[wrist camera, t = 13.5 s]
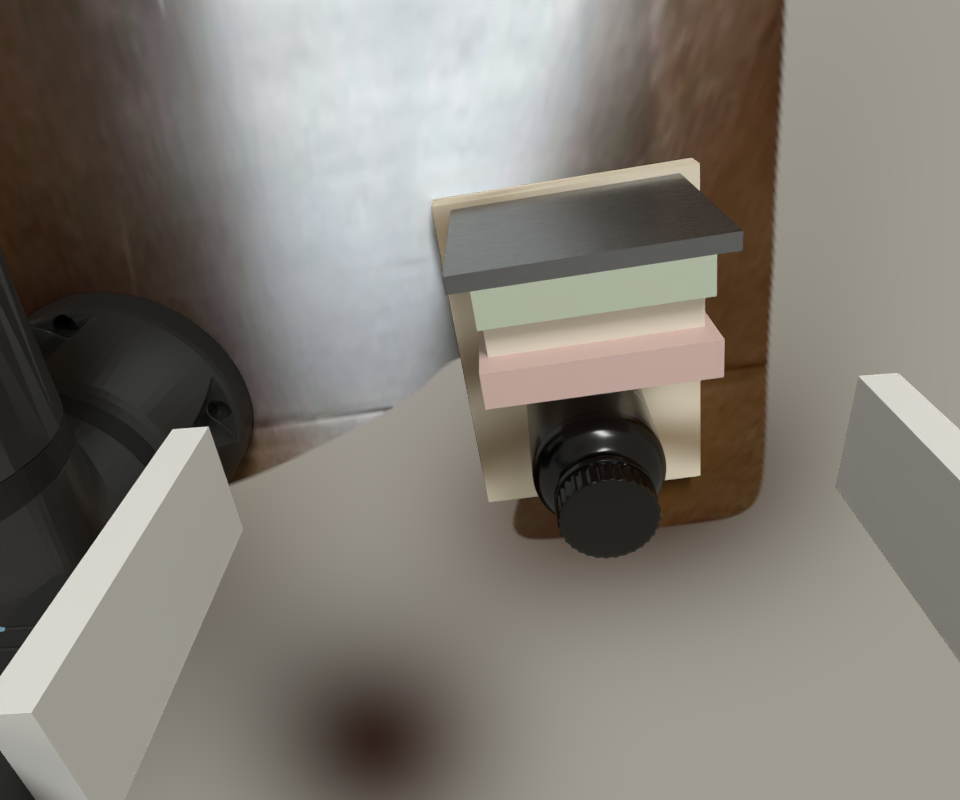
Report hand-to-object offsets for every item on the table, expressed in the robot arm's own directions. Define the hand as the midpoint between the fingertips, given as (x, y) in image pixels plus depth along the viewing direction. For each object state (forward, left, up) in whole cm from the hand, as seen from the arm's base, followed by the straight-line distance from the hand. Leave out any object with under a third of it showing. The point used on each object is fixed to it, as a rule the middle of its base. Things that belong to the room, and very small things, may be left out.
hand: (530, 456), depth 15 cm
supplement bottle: (-7, -12, -25) cm, 29 cm away
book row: (-1, -6, -25) cm, 26 cm away
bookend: (+1, -4, -25) cm, 25 cm away
